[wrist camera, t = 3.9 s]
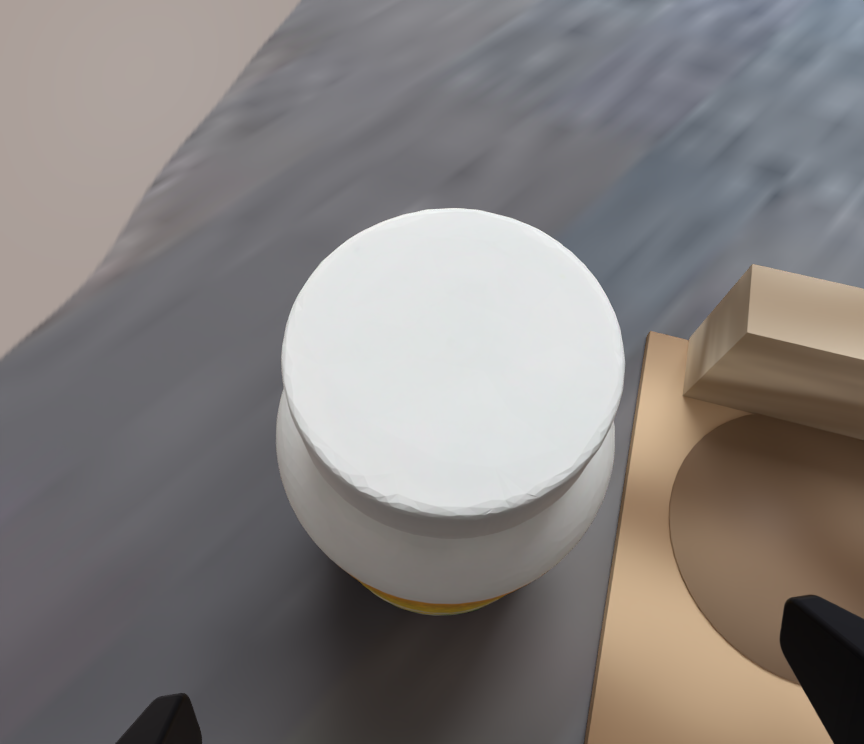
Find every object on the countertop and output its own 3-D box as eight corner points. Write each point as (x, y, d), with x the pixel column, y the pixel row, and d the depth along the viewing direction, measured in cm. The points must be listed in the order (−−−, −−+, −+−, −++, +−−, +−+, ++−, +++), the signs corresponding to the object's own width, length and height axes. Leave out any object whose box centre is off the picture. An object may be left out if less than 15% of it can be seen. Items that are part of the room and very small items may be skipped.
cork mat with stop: (1017, 954, 16) (1277, 1092, 11) (574, 806, 17) (630, 871, 12) (968, 411, 22) (1120, 346, 17) (647, 333, 24) (703, 252, 19)
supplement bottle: (298, 484, 21) (134, 292, 10) (459, 376, 23) (489, 101, 11) (414, 668, 19) (387, 712, 7) (585, 532, 21) (788, 388, 9)
